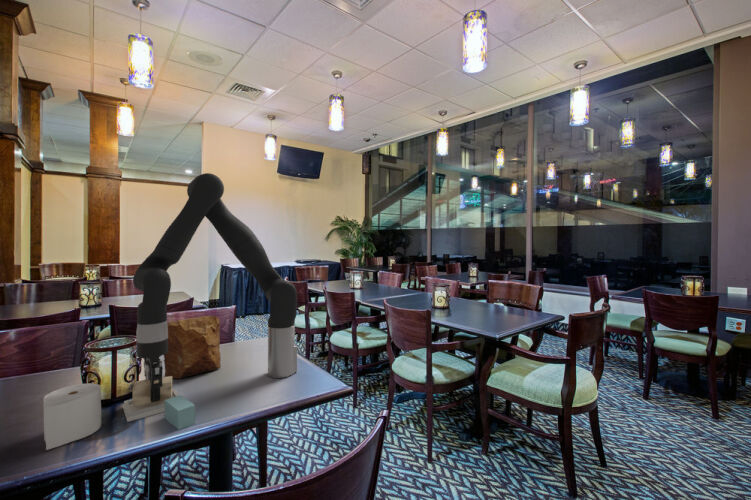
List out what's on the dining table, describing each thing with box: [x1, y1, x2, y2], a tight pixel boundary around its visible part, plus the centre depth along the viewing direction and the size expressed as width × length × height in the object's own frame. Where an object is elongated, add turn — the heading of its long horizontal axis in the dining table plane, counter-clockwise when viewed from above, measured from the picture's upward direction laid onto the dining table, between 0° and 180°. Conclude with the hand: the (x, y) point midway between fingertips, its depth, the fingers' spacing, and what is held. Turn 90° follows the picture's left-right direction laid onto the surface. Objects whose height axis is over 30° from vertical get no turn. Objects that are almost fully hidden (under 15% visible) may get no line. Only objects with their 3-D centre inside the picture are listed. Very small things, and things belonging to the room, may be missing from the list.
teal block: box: [164, 394, 196, 431], centre depth 91 cm, size 4×9×5 cm, turn 50°
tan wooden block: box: [132, 376, 173, 406], centre depth 98 cm, size 9×5×5 cm, turn 117°
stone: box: [163, 315, 222, 380], centre depth 123 cm, size 19×11×20 cm, turn 122°
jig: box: [122, 388, 180, 423], centre depth 98 cm, size 13×10×2 cm
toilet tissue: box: [42, 382, 102, 451], centre depth 85 cm, size 11×12×10 cm
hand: (153, 396), depth 98 cm, fingers closed on tan wooden block, 5 cm apart
